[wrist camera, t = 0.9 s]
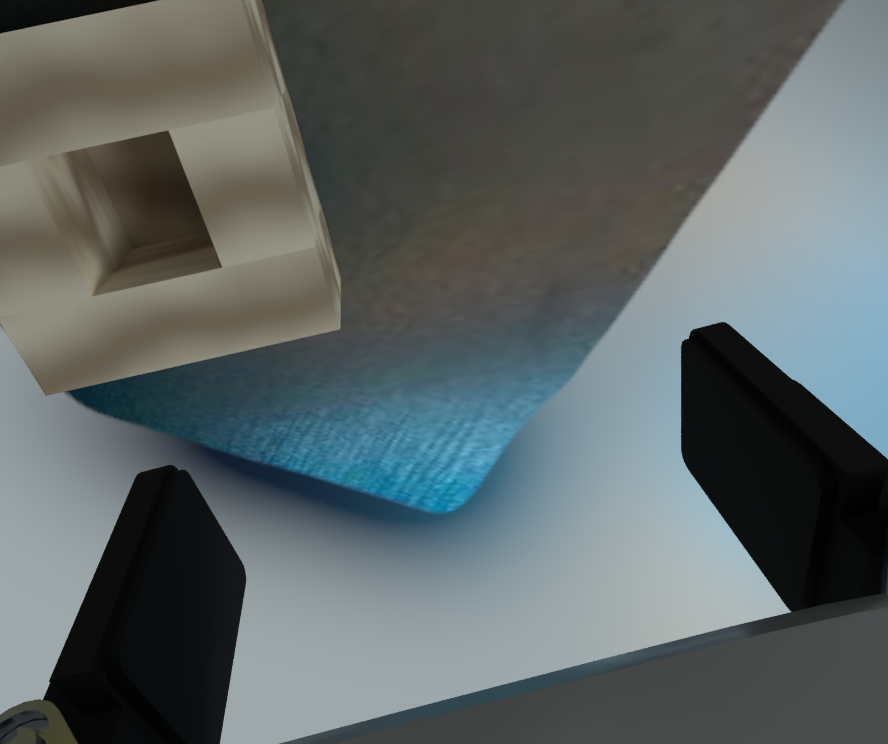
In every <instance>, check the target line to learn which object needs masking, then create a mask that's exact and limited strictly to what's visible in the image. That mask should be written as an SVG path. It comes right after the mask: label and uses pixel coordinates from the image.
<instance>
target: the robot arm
mask: <svg viewBox="0 0 888 744" xmlns="http://www.w3.org/2000/svg"><path fill="white" fill-rule="evenodd" d="M681 451H682V456H683V459H684V462H685V464H686V466H687V468H688V469H689V471H690V472H691V474H692V475H693V477H694V478H695V479H696V481H697V482H698V484H699V485H700V486H701V488H702V489H703V491H704V492H705V493H706V495H707V496H708V498H709V499H710V500H711V502H712V503H713V504H714V506H715V507H716V509H717V510H718V511H719V513H720V514H721V515H722V517H723V518H724V520H725V521H726V523H727V524H728V525H729V527H730V528H731V529H732V531H733V532H734V534H735V535H736V536H737V538H738V539H739V541H740V542H741V544H742V545H743V546H744V548H745V549H746V550H747V552H748V553H749V554H750V556H751V557H752V559H753V560H754V562H755V563H756V564H757V566H758V567H759V569H760V570H761V571H762V573H763V574H764V576H765V577H766V578H767V580H768V581H769V583H770V584H771V585H772V587H773V588H774V589H775V591H776V592H777V593H778V595H779V596H780V598H781V599H782V601H783V602H784V603H785V605H786V606H787V607H788V608H789V610H790V611H791V612H790V613H786V614H782V615H778V616H774V617H769V618H765V619H761V620H757V621H752V622H748V623H744V624H740V625H736V626H731V627H727V628H723V629H719V630H715V631H711V632H707V633H704V634H700V635H696V636H692V637H688V638H684V639H680V640H676V641H672V642H668V643H664V644H660V645H657V646H652V647H648V648H644V649H641V650H637V651H633V652H629V653H625V654H621V655H617V656H613V657H609V658H605V659H601V660H598V661H593V662H589V663H586V664H582V665H578V666H574V667H570V668H566V669H562V670H558V671H554V672H551V673H547V674H543V675H539V676H535V677H531V678H527V679H524V680H520V681H516V682H512V683H508V684H504V685H500V686H497V687H493V688H489V689H485V690H482V691H477V692H474V693H470V694H466V695H462V696H458V697H455V698H451V699H447V700H443V701H439V702H435V703H432V704H428V705H424V706H420V707H416V708H412V709H409V710H405V711H401V712H397V713H393V714H389V715H386V716H382V717H378V718H375V719H371V720H367V721H363V722H359V723H355V724H352V725H348V726H344V727H340V728H337V729H333V730H329V731H325V732H322V733H318V734H314V735H311V736H307V737H303V738H299V739H295V740H291V741H288V742H284V743H280V744H888V459H887V458H886V457H885V456H883V455H882V454H881V453H880V452H879V451H878V450H876V449H875V448H874V447H873V446H872V445H871V444H869V443H868V442H867V441H866V440H865V439H864V438H862V437H861V436H860V435H859V434H858V433H857V432H856V431H854V430H853V429H852V428H851V427H850V426H849V425H847V424H846V423H845V422H844V421H843V420H842V419H841V418H839V417H838V416H837V415H836V414H835V413H833V412H832V411H831V410H830V409H829V408H828V407H827V406H826V405H824V404H823V403H822V402H821V401H820V400H819V399H817V398H816V397H815V396H814V395H813V394H812V393H811V392H809V391H808V390H807V389H806V388H805V387H804V386H802V385H801V384H800V383H798V382H797V381H795V380H792V379H791V378H790V377H788V376H787V375H786V374H785V373H784V372H782V371H781V370H780V369H779V368H778V367H777V366H776V365H775V364H774V363H772V362H771V361H770V360H769V359H768V358H767V357H766V356H764V355H763V354H762V353H761V352H760V351H759V350H757V349H756V348H755V347H754V346H753V345H752V344H751V343H749V342H748V341H747V340H746V339H745V338H744V337H743V336H741V335H740V334H739V333H738V332H737V331H736V330H735V329H733V328H732V327H731V326H730V325H729V324H727V323H725V322H721V323H717V324H713V325H709V326H705V327H701V328H697V329H694V330H692V331H691V333H690V336H689V339H686V340H684V341H683V342H682V345H681ZM245 585H246V574H245V569H244V565H243V564H242V561H241V560H240V558H239V556H238V555H237V553H236V551H235V550H234V548H233V547H232V545H231V543H230V541H229V540H228V538H227V536H226V535H225V533H224V531H223V530H222V528H221V526H220V525H219V523H218V521H217V520H216V518H215V516H214V515H213V513H212V511H211V510H210V508H209V506H208V505H207V503H206V501H205V499H204V498H203V496H202V494H201V493H200V491H199V489H198V488H197V486H196V484H195V483H194V481H193V479H192V478H191V476H190V474H189V473H188V472H187V471H186V470H180V471H179V470H178V469H177V468H176V467H175V466H173V465H167V466H164V467H160V468H156V469H152V470H148V471H144V472H141V473H139V474H138V475H137V476H136V478H135V480H134V482H133V485H132V487H131V489H130V492H129V494H128V496H127V499H126V501H125V503H124V506H123V508H122V510H121V513H120V515H119V518H118V520H117V522H116V525H115V527H114V529H113V532H112V534H111V536H110V539H109V541H108V543H107V546H106V548H105V550H104V553H103V555H102V558H101V560H100V562H99V565H98V567H97V569H96V572H95V574H94V577H93V579H92V581H91V583H90V586H89V588H88V591H87V593H86V596H85V598H84V600H83V603H82V605H81V607H80V609H79V612H78V614H77V617H76V619H75V621H74V624H73V626H72V628H71V631H70V633H69V635H68V638H67V640H66V642H65V645H64V647H63V650H62V652H61V655H60V657H59V659H58V662H57V664H56V666H55V669H54V671H53V673H52V676H51V678H50V680H49V682H50V684H49V687H48V689H47V692H46V694H45V696H44V699H43V700H33V701H28V702H24V703H22V704H19V705H17V706H15V707H12V708H10V709H8V710H7V711H5V712H4V713H2V714H1V715H0V744H220V739H221V733H222V726H223V720H224V714H225V708H226V702H227V696H228V690H229V684H230V677H231V671H232V665H233V659H234V653H235V647H236V640H237V635H238V628H239V622H240V616H241V610H242V604H243V597H244V592H245Z"/></svg>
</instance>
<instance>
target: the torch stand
mask: <svg viewBox="0 0 888 744" xmlns="http://www.w3.org/2000/svg"><path fill="white" fill-rule="evenodd" d="M340 295H341V274H340V271H339V267H338V264H337V260H336V257H335V253H334V250H333V246H332V243H331V239H330V236H329V232H328V229H327V225H326V222H325V218H324V215H323V211H322V208H321V204H320V201H319V197H318V194H317V190H316V187H315V184H314V180H313V177H312V173H311V170H310V166H309V163H308V159H307V156H306V152H305V149H304V145H303V142H302V138H301V135H300V131H299V128H298V124H297V121H296V117H295V114H294V110H293V107H292V103H291V100H290V97H289V93H288V90H287V86H286V83H285V79H284V76H283V72H282V69H281V65H280V62H279V58H278V55H277V51H276V48H275V44H274V41H273V37H272V34H271V30H270V27H269V23H268V20H267V16H266V13H265V10H264V6H263V3H262V0H159V1H154V2H149V3H144V4H139V5H135V6H130V7H125V8H120V9H115V10H111V11H106V12H101V13H96V14H92V15H87V16H82V17H77V18H72V19H68V20H63V21H58V22H53V23H48V24H44V25H39V26H34V27H29V28H25V29H20V30H15V31H10V32H5V33H1V34H0V324H1V325H2V327H3V328H4V330H5V332H6V333H7V335H8V336H9V338H10V339H11V341H12V343H13V344H14V346H15V347H16V349H17V351H18V352H19V354H20V355H21V357H22V359H23V360H24V362H25V363H26V365H27V366H28V368H29V370H30V371H31V373H32V374H33V376H34V378H35V379H36V381H37V382H38V384H39V385H40V387H41V389H42V390H43V392H44V393H45V395H46V396H47V395H51V394H55V393H60V392H64V391H69V390H73V389H78V388H82V387H87V386H91V385H95V384H100V383H104V382H109V381H113V380H118V379H122V378H126V377H131V376H135V375H140V374H144V373H149V372H153V371H157V370H162V369H166V368H171V367H175V366H180V365H184V364H188V363H193V362H197V361H202V360H206V359H210V358H215V357H219V356H224V355H228V354H233V353H237V352H241V351H246V350H250V349H255V348H259V347H264V346H268V345H272V344H277V343H281V342H286V341H290V340H295V339H299V338H303V337H308V336H312V335H317V334H321V333H326V332H330V331H334V330H339V329H340Z"/></svg>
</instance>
